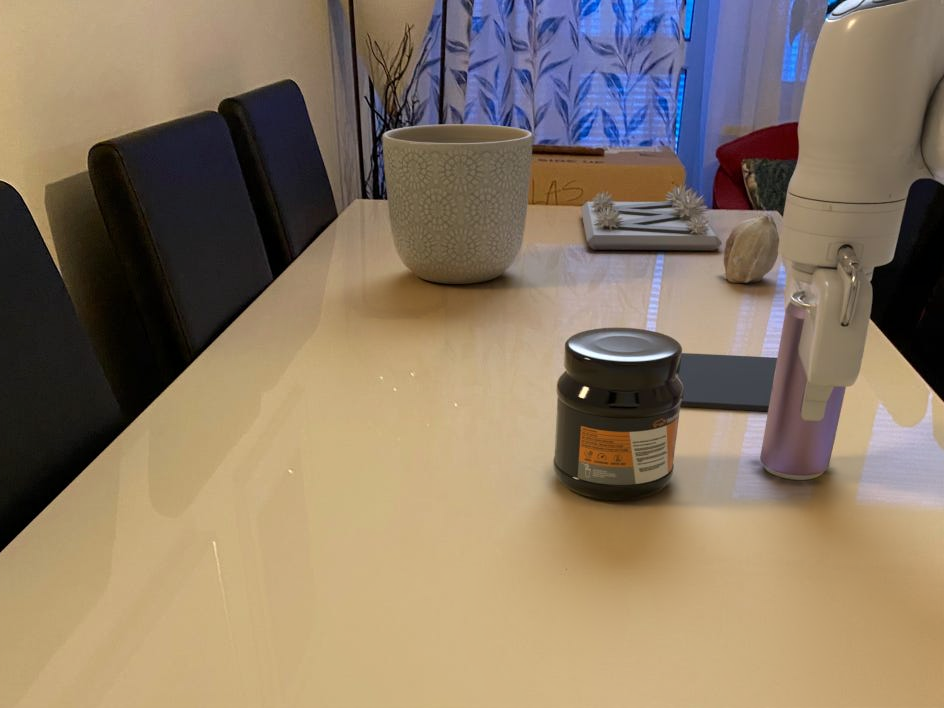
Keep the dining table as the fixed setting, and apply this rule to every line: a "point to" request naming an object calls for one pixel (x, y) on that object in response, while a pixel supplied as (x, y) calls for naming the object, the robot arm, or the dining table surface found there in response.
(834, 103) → the robot arm
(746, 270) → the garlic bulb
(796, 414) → the beverage can
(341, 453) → the dining table surface
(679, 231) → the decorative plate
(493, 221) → the planter
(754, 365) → the mat
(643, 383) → the supplement container
